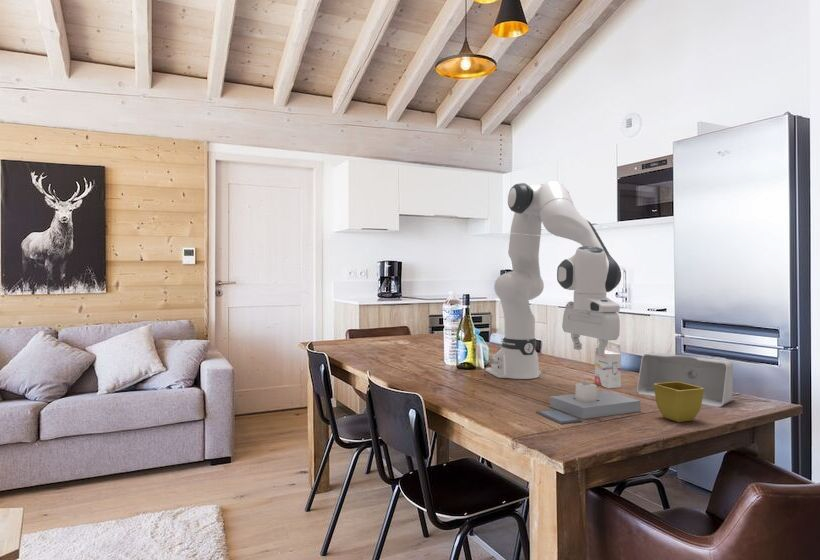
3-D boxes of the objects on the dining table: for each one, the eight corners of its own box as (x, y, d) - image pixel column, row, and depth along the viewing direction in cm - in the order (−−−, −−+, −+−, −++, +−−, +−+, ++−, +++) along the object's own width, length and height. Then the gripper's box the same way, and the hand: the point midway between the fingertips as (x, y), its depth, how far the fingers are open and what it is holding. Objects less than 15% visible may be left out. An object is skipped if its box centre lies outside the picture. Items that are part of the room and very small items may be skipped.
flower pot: (704, 422, 140) (705, 387, 140) (678, 425, 138) (679, 390, 137) (677, 413, 149) (678, 381, 149) (652, 416, 146) (652, 383, 146)
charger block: (575, 408, 154) (575, 381, 154) (586, 406, 155) (586, 380, 155) (585, 411, 150) (585, 384, 150) (596, 410, 152) (596, 383, 151)
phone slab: (535, 415, 150) (535, 411, 150) (555, 412, 152) (555, 408, 152) (561, 426, 139) (561, 422, 139) (582, 424, 141) (582, 420, 141)
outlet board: (550, 406, 156) (550, 396, 156) (604, 400, 164) (604, 390, 164) (583, 419, 143) (583, 407, 143) (640, 411, 151) (640, 400, 151)
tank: (739, 399, 166) (739, 358, 166) (722, 408, 155) (723, 364, 155) (656, 386, 184) (656, 349, 184) (636, 393, 173) (636, 355, 173)
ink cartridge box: (593, 383, 189) (593, 341, 188) (606, 382, 190) (606, 341, 190) (608, 388, 180) (608, 344, 180) (621, 388, 182) (621, 344, 181)
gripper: (557, 301, 162) (556, 346, 162) (605, 306, 143) (604, 358, 143) (574, 300, 164) (573, 346, 165) (624, 306, 145) (623, 357, 146)
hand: (588, 351), depth 154 cm, fingers open, 8 cm apart
